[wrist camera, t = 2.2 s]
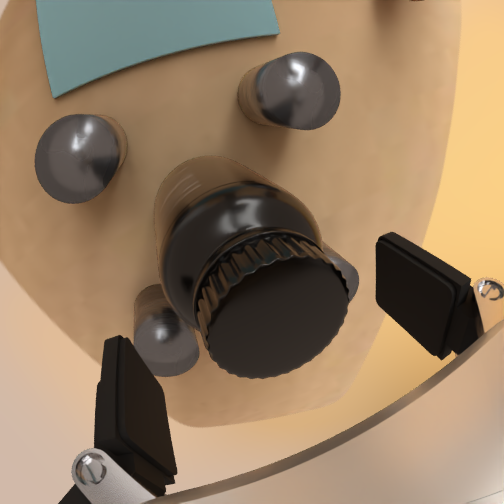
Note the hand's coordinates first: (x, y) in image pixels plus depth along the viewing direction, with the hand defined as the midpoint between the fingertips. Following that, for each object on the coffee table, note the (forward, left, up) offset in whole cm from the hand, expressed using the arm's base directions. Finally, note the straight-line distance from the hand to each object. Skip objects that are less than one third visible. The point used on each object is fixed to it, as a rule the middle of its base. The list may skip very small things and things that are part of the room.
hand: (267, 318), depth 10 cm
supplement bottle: (-1, 0, -11) cm, 11 cm away
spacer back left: (+5, -5, -11) cm, 13 cm away
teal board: (-17, 0, -11) cm, 20 cm away
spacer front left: (-7, -5, -11) cm, 14 cm away
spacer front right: (-7, +6, -11) cm, 14 cm away
